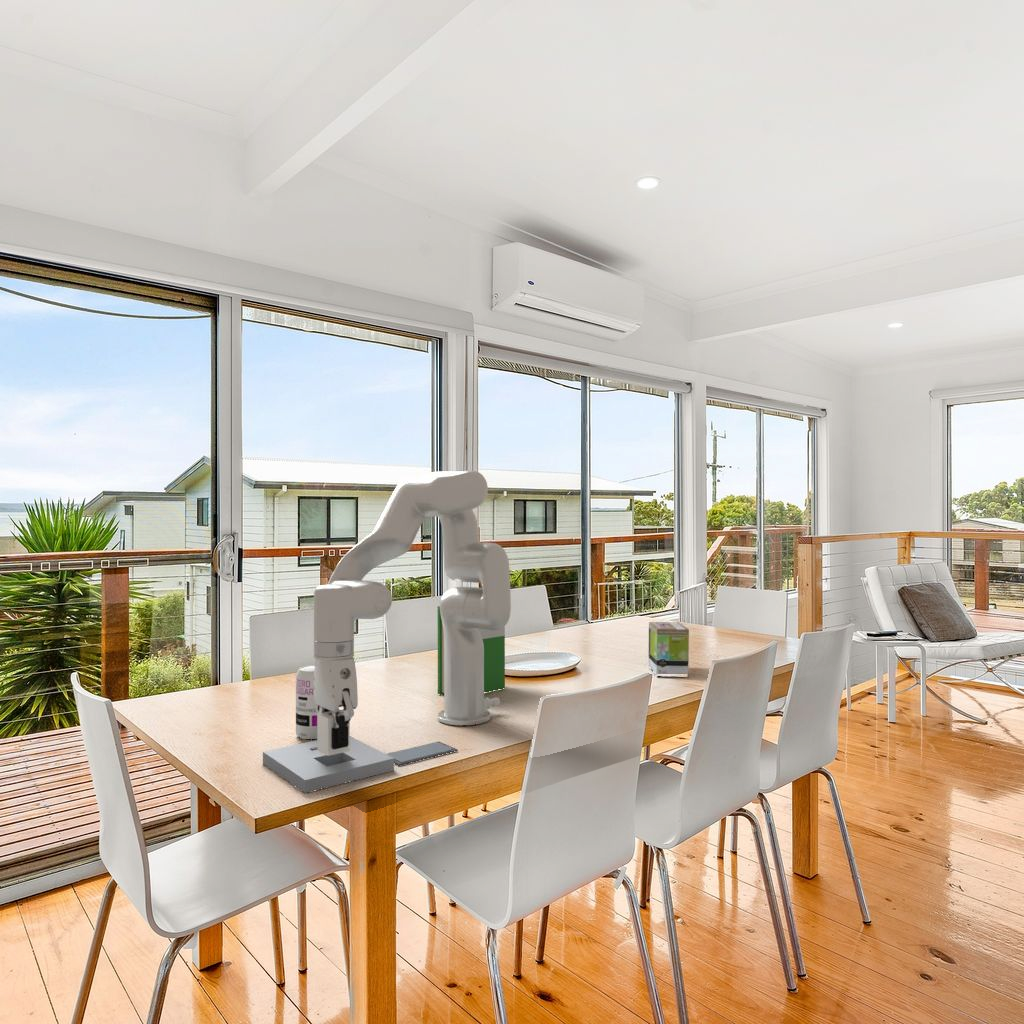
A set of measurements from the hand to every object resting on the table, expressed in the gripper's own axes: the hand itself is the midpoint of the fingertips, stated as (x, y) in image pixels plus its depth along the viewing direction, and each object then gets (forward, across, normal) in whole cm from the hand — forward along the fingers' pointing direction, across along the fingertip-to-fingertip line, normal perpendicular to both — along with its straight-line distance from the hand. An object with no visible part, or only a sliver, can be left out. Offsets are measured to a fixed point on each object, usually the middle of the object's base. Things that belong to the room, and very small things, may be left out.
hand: (333, 743), depth 142 cm
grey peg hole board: (+5, +3, 0) cm, 6 cm away
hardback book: (+5, +33, -57) cm, 66 cm away
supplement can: (+6, +24, -7) cm, 26 cm away
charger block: (+1, 0, 0) cm, 1 cm away
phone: (+6, -2, -18) cm, 19 cm away
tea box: (+5, +14, -118) cm, 119 cm away
